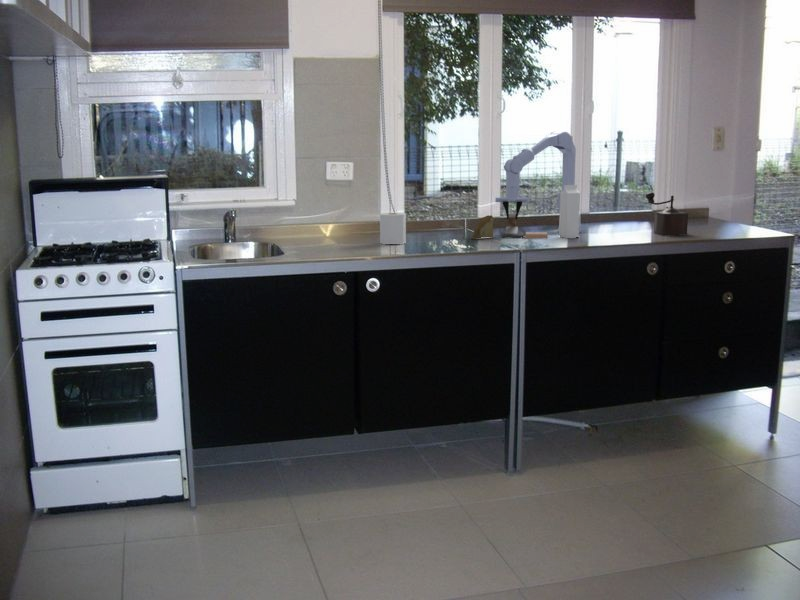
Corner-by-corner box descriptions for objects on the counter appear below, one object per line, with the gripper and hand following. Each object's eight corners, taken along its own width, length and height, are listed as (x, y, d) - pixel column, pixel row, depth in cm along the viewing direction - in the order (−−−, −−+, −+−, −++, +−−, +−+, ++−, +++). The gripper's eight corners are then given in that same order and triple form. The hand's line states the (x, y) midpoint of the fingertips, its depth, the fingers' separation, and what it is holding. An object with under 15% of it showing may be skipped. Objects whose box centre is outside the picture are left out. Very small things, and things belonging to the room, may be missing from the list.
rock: (473, 235, 358) (497, 231, 359) (468, 217, 362) (492, 213, 362) (471, 247, 368) (494, 244, 369) (466, 230, 371) (489, 226, 372)
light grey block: (376, 244, 350) (375, 214, 347) (387, 241, 359) (386, 212, 357) (399, 245, 346) (398, 215, 343) (409, 242, 355) (409, 212, 353)
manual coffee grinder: (673, 232, 381) (675, 190, 378) (687, 234, 371) (690, 192, 367) (641, 233, 377) (643, 191, 374) (655, 236, 367) (657, 193, 363)
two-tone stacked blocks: (518, 224, 377) (518, 214, 375) (517, 235, 367) (517, 224, 364) (506, 224, 378) (506, 214, 376) (505, 235, 367) (505, 224, 365)
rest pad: (523, 234, 377) (523, 232, 377) (523, 238, 365) (523, 235, 365) (502, 234, 378) (502, 232, 378) (501, 237, 367) (501, 235, 366)
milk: (559, 237, 368) (560, 184, 363) (571, 236, 370) (572, 184, 365) (566, 238, 362) (567, 185, 358) (579, 237, 364) (580, 185, 360)
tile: (547, 232, 370) (547, 234, 362) (547, 237, 371) (547, 239, 363) (525, 231, 372) (525, 234, 364) (525, 237, 372) (525, 239, 364)
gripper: (495, 188, 369) (494, 220, 372) (529, 188, 367) (529, 220, 369) (496, 186, 376) (495, 218, 378) (529, 187, 374) (529, 218, 376)
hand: (512, 219), depth 374 cm, fingers closed on two-tone stacked blocks, 3 cm apart
